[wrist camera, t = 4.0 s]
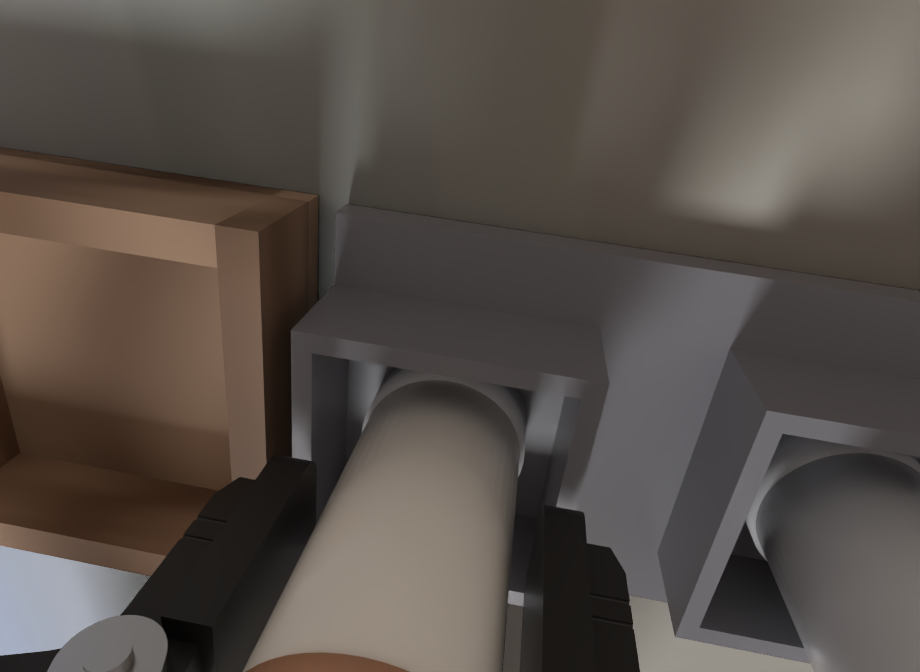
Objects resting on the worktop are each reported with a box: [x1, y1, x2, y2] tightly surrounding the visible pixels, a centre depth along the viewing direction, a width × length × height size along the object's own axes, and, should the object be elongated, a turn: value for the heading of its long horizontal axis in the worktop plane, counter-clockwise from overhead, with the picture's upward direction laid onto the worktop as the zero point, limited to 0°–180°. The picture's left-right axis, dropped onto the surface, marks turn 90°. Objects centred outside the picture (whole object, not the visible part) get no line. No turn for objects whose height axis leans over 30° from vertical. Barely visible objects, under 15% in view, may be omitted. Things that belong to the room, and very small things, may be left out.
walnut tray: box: [0, 147, 319, 576], centre depth 14 cm, size 9×9×3 cm
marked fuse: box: [243, 367, 527, 672], centre depth 10 cm, size 4×4×10 cm
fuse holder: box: [291, 204, 920, 664], centre depth 13 cm, size 14×9×3 cm, turn 83°
